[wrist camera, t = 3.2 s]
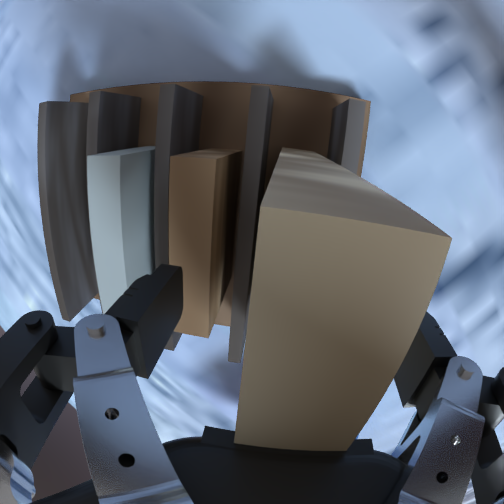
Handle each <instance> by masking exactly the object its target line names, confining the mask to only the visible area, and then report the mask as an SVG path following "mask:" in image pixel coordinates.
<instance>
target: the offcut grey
mask: <svg viewBox="0 0 504 504" xmlns="http://www.w3.org/2000/svg"><path fill="white" fill-rule="evenodd" d="M154 168H155V146H144V147H137V148H130V149H124V150H117V151H111V152H106V153H100V154H95V155H89V156H87V182H88V204H89V218H90V230H91V240H92V248H93V256H94V264H95V271H96V277H97V283H98V289H99V295H100V300H101V305H102V310H103V314H105V313H106V312H107V311H108V309H109V308H110V307H111V306H112V305H113V304H114V303H115V302H116V301H117V299H118V298H119V297H120V296H121V295H123V293H124V292H125V291H126V290H127V289H129V286H130V285H131V284H132V283H133V282H134V281H135V280H136V279H138V278H140V277H142V276H144V275H146V274H149V275H151V274H152V273H153V272H154V271H155V270H156V265H155V240H154Z"/></svg>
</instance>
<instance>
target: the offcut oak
mask: <svg viewBox="0 0 504 504" xmlns="http://www.w3.org/2000/svg"><path fill="white" fill-rule="evenodd" d="M241 156H242V151H241V150H229V149H215V148H210V149H204V150H199V151H194V152H189V153H184V154H179V155H174V156H170V173H169V265H175V266H181V267H182V270H183V312H182V315H181V318H180V320H179V322H178V324H177V326H176V328H175V329H174V332H179V333H184V334H189V335H194V336H199V337H205V338H209V335H210V333H211V330H212V327H213V325H214V322H215V319H216V317H217V314H218V311H219V309H220V306H221V304H222V301H223V298H224V296H225V293H226V290H227V288H228V285H229V283H230V280H231V277H232V263H233V250H234V237H235V225H236V213H237V201H238V189H239V178H240V167H241Z"/></svg>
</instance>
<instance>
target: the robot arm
mask: <svg viewBox="0 0 504 504" xmlns="http://www.w3.org/2000/svg"><path fill="white" fill-rule="evenodd" d="M182 312H183V270H182V267H181V266H175V265H169V264H160V265H159V267H158V268H157V269H156V270H155V271H154V272H153V273H152V274H151V275H149V274H146V275H144V276H142V277H140V278H138V279H136V280H135V281H134V282H133V283H132V284H131V285H130V286H129V289H127V290H126V291H125V292H124V293H123V295H121V296H120V297H119V298H118V299H117V301H116V302H115V303H114V304H113V305H112V306H111V307H110V308H109V309H108V311H107V312H106V313H105V314H93V315H89V316H86V317H84V318H83V319H81V320H80V321H79V322H78V323H77V324H76V326H75V327H62V326H55V323H54V320H53V317H52V315H51V314H50V313H48V312H46V311H40V310H39V311H32V312H29V313H27V314H25V315H23V316H22V317H21V318H20V319H19V320H18V321H17V322H16V323H15V324H14V325H13V326H12V327H11V328H10V329H9V330H8V331H7V332H6V333H5V334H4V335H3V336H2V337H1V338H0V504H462V501H463V498H464V496H465V493H466V490H467V487H468V484H469V481H470V478H471V479H472V484H473V489H474V493H475V499H476V504H504V453H502V450H501V447H500V444H499V441H498V439H497V436H496V433H495V431H494V429H495V427H496V426H497V425H498V424H499V423H500V422H501V421H502V420H503V418H504V367H503V368H502V369H501V370H500V371H499V373H498V374H497V376H496V377H495V378H492V377H487V376H483V374H482V371H481V369H480V367H479V366H478V365H477V364H476V363H475V362H474V361H472V360H471V359H469V358H466V357H463V356H457V354H456V353H455V351H454V349H453V347H452V346H451V344H450V342H449V341H448V339H447V338H446V336H445V335H444V333H443V331H442V330H441V328H439V327H440V326H439V325H438V323H437V322H436V320H435V319H434V317H432V316H431V315H430V314H429V313H428V312H427V311H426V313H425V315H424V318H423V320H422V322H421V324H420V327H419V329H418V331H417V333H416V335H415V338H414V340H413V342H412V344H411V346H410V348H409V350H408V352H407V354H406V356H405V358H404V360H403V362H402V364H401V365H400V367H399V369H398V371H397V373H396V375H395V377H394V380H395V383H396V386H397V389H398V392H399V396H400V399H401V402H402V405H403V408H407V407H416V409H417V411H416V412H415V413H414V415H413V416H412V418H411V420H410V422H409V424H408V426H407V428H406V430H405V432H404V434H403V436H402V438H401V439H400V441H399V443H398V445H397V447H396V448H395V450H394V452H393V453H392V455H389V454H386V453H384V452H380V451H376V450H373V444H372V439H355V440H354V441H353V442H352V444H351V445H350V447H349V448H348V449H347V451H310V450H291V449H278V448H268V447H259V446H251V445H244V444H237V443H234V438H235V431H230V430H225V429H219V428H214V427H209V426H205V428H204V432H203V435H202V437H187V438H181V439H175V440H172V441H169V442H165V443H163V444H162V443H161V440H160V438H159V436H158V434H157V431H156V429H155V426H154V424H153V422H152V419H151V417H150V414H149V412H148V409H147V407H146V404H145V401H144V399H143V396H142V393H141V390H140V388H139V385H138V382H137V379H136V376H139V377H143V378H146V379H148V378H149V376H150V375H151V373H152V371H153V369H154V367H155V365H156V363H157V361H158V359H159V357H160V356H161V354H162V352H163V350H164V348H165V346H166V344H167V342H168V341H169V339H170V337H171V335H172V333H173V331H174V329H175V328H176V326H177V324H178V322H179V320H180V318H181V315H182ZM33 369H34V371H35V373H36V375H37V376H36V377H35V378H34V380H33V381H32V383H31V384H30V385H29V387H28V388H27V389H26V391H25V392H24V394H23V395H22V397H21V396H20V388H21V385H22V383H23V382H24V381H25V379H26V378H27V377H28V375H29V374H30V373H31V371H32V370H33ZM73 392H74V395H75V402H76V408H77V415H78V421H79V426H80V431H81V436H82V441H83V445H84V450H85V454H86V458H87V462H88V466H89V470H90V473H91V477H92V479H90V480H88V481H86V482H84V483H81V484H79V485H77V486H74V487H72V488H69V489H67V490H64V491H62V492H59V493H56V494H54V495H51V496H48V497H45V498H43V499H40V500H37V501H34V502H32V497H34V495H35V488H34V479H33V475H32V473H31V471H30V470H31V468H32V466H33V464H34V462H35V460H36V459H37V457H38V455H39V453H40V451H41V449H42V447H43V445H44V443H45V441H46V439H47V438H48V436H49V434H50V432H51V430H52V429H53V427H54V425H55V423H56V421H57V420H58V418H59V416H60V415H61V413H62V411H63V409H64V408H65V406H66V404H67V403H68V401H69V399H70V397H71V396H72V394H73Z"/></svg>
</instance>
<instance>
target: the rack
mask: <svg viewBox="0 0 504 504" xmlns="http://www.w3.org/2000/svg"><path fill="white" fill-rule="evenodd" d="M370 103H371V101H367V100H363V99H359V98H354V97H349V96H344V95H339V94H334V93H329V92H323V91H317V90H310V89H303V88H296V87H288V86H279V85H269V84H257V83H241V82H205V81H202V82H166V83H151V84H139V85H129V86H121V87H113V88H106V89H99V90H93V91H87V92H82V93H76V94H71V95H70V102H58V101H47V102H43V103H39V117H38V181H39V195H40V206H41V216H42V224H43V231H44V238H45V244H46V250H47V256H48V261H49V266H50V271H51V276H52V280H53V284H54V289H55V293H56V297H57V301H58V304H59V308H60V312H61V315H62V319H64V320H67V321H69V322H70V321H71V320H72V319H73V318H74V317H75V316H76V315H77V314H78V313H79V312H80V311H81V310H82V309H83V308H84V307H85V306H86V305H87V304H88V303H89V302H90V301H91V300H92V299H93V298H95V299H99V300H100V295H99V289H98V283H97V277H96V271H95V264H94V256H93V248H92V240H91V230H90V218H89V204H88V182H87V156H89V155H95V154H100V153H106V152H111V151H117V150H124V149H130V148H137V147H144V146H155V168H154V240H155V265H156V269H157V268H158V267H159V265H160V264H169V173H170V156H174V155H179V154H184V153H189V152H194V151H199V150H204V149H210V148H215V149H229V150H241V151H242V156H241V167H240V178H239V189H238V201H237V213H236V225H235V237H234V250H233V263H232V277H231V280H230V283H229V285H228V288H227V290H226V293H225V296H224V298H223V301H222V304H221V306H220V309H219V311H218V314H217V317H216V319H215V322H214V324H218V325H224V326H230V339H229V353H228V361H229V362H235V363H240V362H241V357H242V353H243V348H244V343H245V339H246V332H247V323H248V314H249V305H250V296H251V287H252V278H253V269H254V260H255V251H256V242H257V233H258V223H259V214H260V206H261V203H262V200H263V198H264V195H265V192H266V190H267V187H268V184H269V182H270V179H271V176H272V174H273V171H274V168H275V166H276V163H277V160H278V158H279V155H280V152H281V150H282V147H285V148H293V149H300V150H307V151H313V152H316V153H318V154H320V155H322V156H323V157H325V158H327V159H329V160H331V161H333V162H335V163H336V164H338V165H340V166H342V167H344V168H346V169H347V170H349V171H351V172H353V173H354V174H356V175H358V176H360V177H361V173H362V166H363V160H364V153H365V146H366V138H367V130H368V122H369V113H370ZM100 304H101V300H100ZM101 309H102V305H101ZM102 313H103V310H102ZM181 335H182V333H179V332H174V331H173V333H172V335H171V337H170V339H169V341H168V342H167V344H166V346H165V348H164V349H168V350H172V351H174V349H175V347H176V345H177V343H178V341H179V339H180V337H181Z"/></svg>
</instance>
